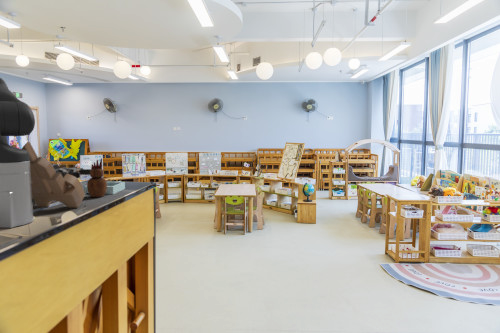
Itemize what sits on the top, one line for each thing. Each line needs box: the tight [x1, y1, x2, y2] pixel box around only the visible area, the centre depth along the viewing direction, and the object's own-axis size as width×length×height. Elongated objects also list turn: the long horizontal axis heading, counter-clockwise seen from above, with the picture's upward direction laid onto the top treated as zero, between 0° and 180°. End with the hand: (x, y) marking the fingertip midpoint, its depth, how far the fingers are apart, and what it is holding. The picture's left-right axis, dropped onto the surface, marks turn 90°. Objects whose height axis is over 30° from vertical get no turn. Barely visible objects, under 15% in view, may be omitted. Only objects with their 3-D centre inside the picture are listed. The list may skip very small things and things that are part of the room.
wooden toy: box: [21, 141, 87, 209], centre depth 99 cm, size 16×7×25 cm
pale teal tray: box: [83, 181, 126, 195], centre depth 134 cm, size 12×12×3 cm
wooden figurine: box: [86, 157, 108, 198], centre depth 122 cm, size 7×6×15 cm
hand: (85, 173), depth 122 cm, fingers open, 8 cm apart
